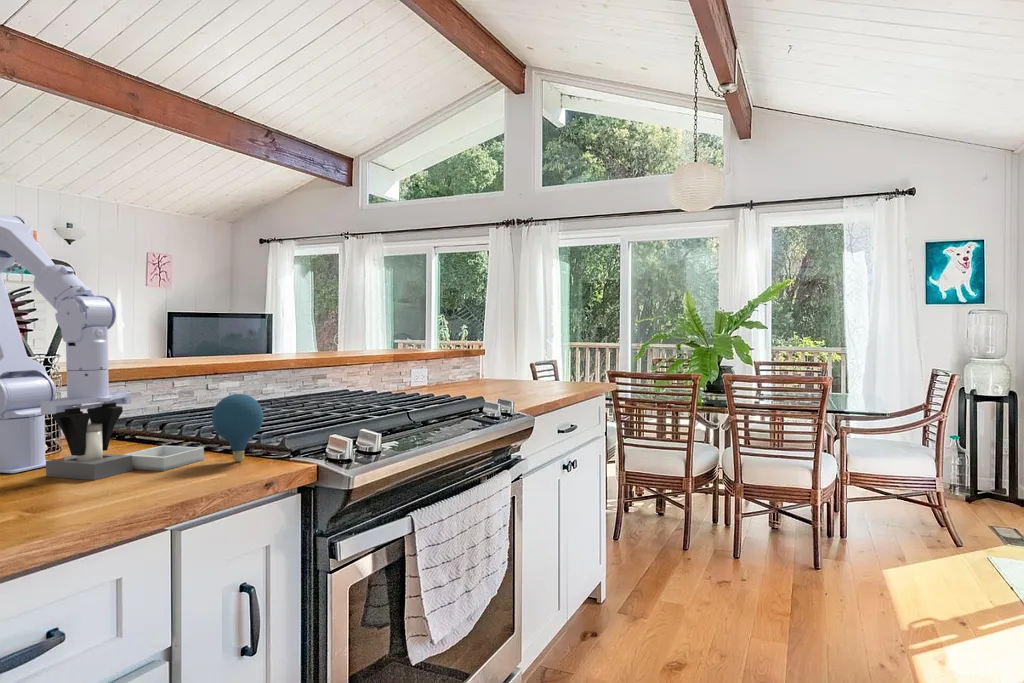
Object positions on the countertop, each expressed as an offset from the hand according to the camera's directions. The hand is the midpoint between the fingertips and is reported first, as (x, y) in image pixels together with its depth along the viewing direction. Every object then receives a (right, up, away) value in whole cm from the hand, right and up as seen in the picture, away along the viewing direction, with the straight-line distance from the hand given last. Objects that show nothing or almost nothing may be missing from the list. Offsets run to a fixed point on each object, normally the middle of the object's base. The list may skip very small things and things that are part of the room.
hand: (89, 452), depth 105 cm
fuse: (0, -3, 0) cm, 3 cm away
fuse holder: (0, -3, 0) cm, 3 cm away
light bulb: (+21, -3, +9) cm, 23 cm away
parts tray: (+8, -3, +7) cm, 11 cm away
